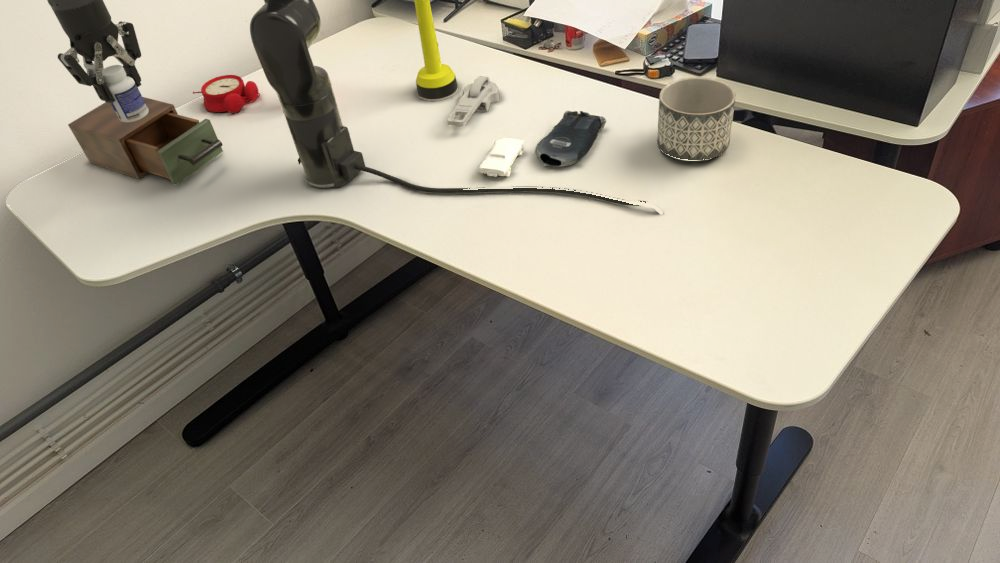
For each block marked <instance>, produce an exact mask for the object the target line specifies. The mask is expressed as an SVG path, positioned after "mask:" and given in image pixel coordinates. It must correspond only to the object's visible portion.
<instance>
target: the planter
mask: <svg viewBox="0 0 1000 563" xmlns="http://www.w3.org/2000/svg"><path fill="white" fill-rule="evenodd" d="M736 95H737V94H736V91H735V90H734V88H733V87H731V85H729V84H727V83H725V82H724V81H721V80H718V79H715V78H710V77H701V76H691V77H685V78H679V79H677V80H673V81H671V82H669V83H668V84H666V85H664V86H663V87H662V89H661V90H660V92H659V96H658V117H657V133H656V134H657V136H656V143H657V146H658V148H659V150H660V149H661V150H662V151H663V152H664V153H663V152H662V151H661V150H660V151H661V152H662V153H663V154H665V153H666V154H669V155H670V156H673V157H676V158H680V159H688V160H703V159H704V160H705V159H710V158H714V157H716V158H718V157H720V156H722V155H723V154H724V153H725V152H726V151H727V150H728V149H729V147H730V143H731V136H732V135H731V134H732V127H733V120H734V113H735V112H734V111H735V105H736V98H737V97H736ZM666 154H665V155H666ZM721 154H722V155H721ZM719 155H720V156H719ZM670 156H669V157H670ZM717 156H718V157H717ZM714 159H715V158H714Z"/></svg>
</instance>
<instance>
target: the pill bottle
mask: <svg viewBox="0 0 1000 563" xmlns="http://www.w3.org/2000/svg"><path fill="white" fill-rule="evenodd" d="M122 66H123V65H122V64H113V65H110V66H106V67H105V68H104V69H103V70H102V73H103V80H104V82H106V84H107V86H108V88H109V90H110V92H111V94H112V96H113V97H114V99H115V101H114V102H113V103H111V105H112V107H113V109H114V111H115V112H116V114H117V116H118V118H119V120H120V121H122V122H134V121H137V120H140V119H142V118H143V117H145V116H146V115H147V114H148V112H149V109H148V107H147V105H146V103H145V101H144V99H143V97H144V96H143V95H142V93H141V91H140V89H139V87H137V85H136V83H135V81H134V80H133V79H132V78H131V77H129V76H126V72H125V70H124V68H123V67H122Z"/></svg>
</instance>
